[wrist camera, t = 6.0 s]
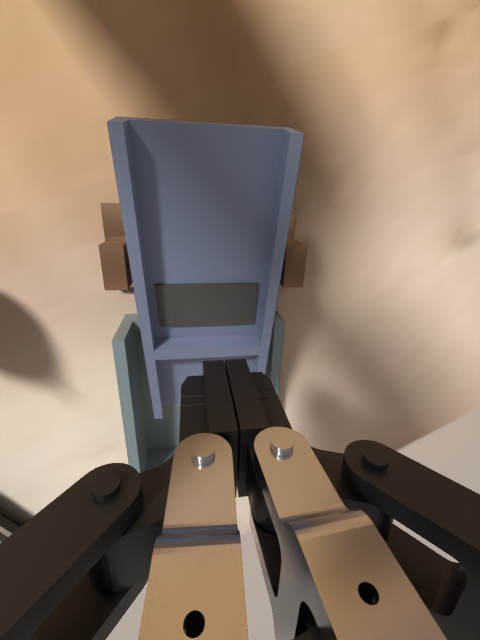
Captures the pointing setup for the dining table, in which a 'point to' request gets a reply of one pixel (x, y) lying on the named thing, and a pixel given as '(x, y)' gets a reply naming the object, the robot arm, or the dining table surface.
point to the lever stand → (119, 266)
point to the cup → (136, 404)
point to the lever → (203, 239)
